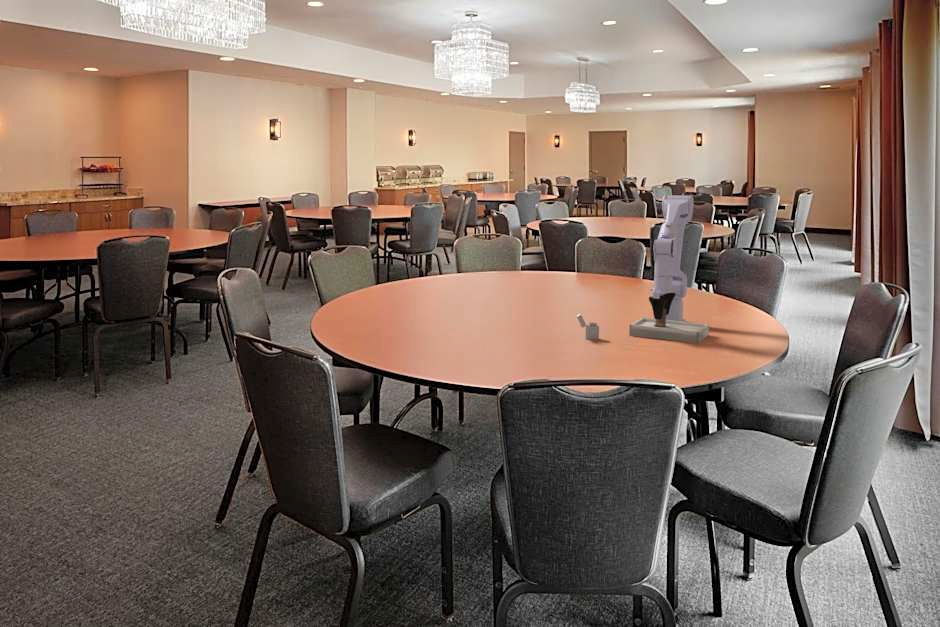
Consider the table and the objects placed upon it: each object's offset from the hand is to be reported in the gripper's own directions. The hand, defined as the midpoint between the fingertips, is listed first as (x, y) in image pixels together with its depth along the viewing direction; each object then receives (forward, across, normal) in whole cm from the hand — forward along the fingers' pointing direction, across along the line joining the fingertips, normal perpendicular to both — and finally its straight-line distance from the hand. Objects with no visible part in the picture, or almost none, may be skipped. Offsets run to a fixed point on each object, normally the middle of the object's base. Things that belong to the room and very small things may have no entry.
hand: (661, 316), depth 234 cm
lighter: (+6, +19, -18) cm, 27 cm away
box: (+6, +1, +3) cm, 6 cm away
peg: (+6, 0, 0) cm, 6 cm away
